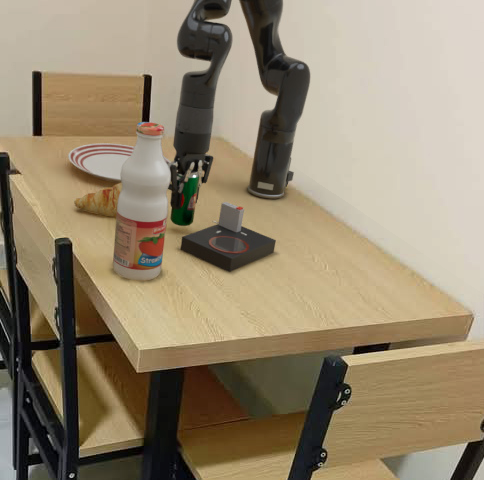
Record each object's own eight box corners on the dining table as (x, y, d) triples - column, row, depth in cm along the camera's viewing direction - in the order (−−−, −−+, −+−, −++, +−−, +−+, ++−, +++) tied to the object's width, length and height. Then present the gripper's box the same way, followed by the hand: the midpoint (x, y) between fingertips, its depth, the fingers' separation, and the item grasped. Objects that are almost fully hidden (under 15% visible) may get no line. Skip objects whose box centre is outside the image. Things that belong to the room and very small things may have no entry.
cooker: (223, 229, 167) (225, 216, 165) (276, 251, 160) (279, 238, 158) (174, 247, 155) (176, 233, 154) (229, 272, 148) (231, 257, 146)
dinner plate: (192, 175, 197) (194, 163, 195) (133, 199, 177) (134, 185, 175) (110, 148, 208) (111, 137, 206) (45, 168, 188) (45, 155, 186)
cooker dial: (218, 225, 161) (221, 202, 158) (222, 223, 162) (226, 200, 159) (236, 232, 158) (240, 209, 155) (240, 231, 159) (244, 207, 157)
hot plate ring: (224, 233, 157) (225, 232, 157) (256, 247, 153) (257, 246, 153) (200, 242, 151) (200, 241, 151) (232, 257, 147) (233, 256, 147)
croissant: (76, 230, 165) (80, 206, 158) (69, 195, 170) (72, 171, 163) (166, 227, 172) (174, 204, 165) (157, 193, 176) (164, 170, 170)
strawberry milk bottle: (124, 256, 148) (137, 114, 134) (168, 268, 146) (185, 125, 131) (103, 273, 141) (114, 125, 126) (149, 286, 138) (165, 136, 124)
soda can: (190, 228, 160) (197, 174, 154) (167, 224, 160) (174, 170, 154) (194, 220, 164) (202, 167, 158) (172, 216, 165) (179, 163, 158)
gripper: (201, 118, 158) (191, 194, 167) (156, 126, 148) (148, 206, 157) (229, 127, 154) (217, 204, 163) (185, 136, 144) (175, 218, 153)
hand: (183, 205), depth 160 cm, fingers closed on soda can, 5 cm apart
